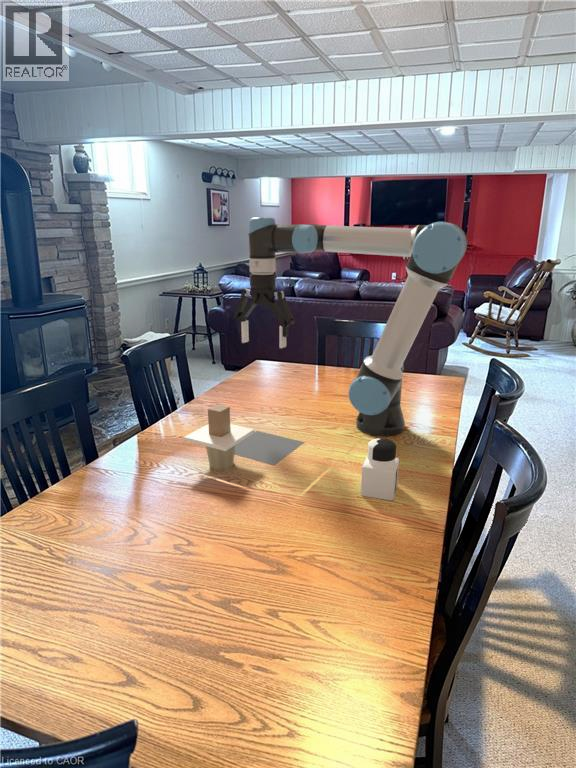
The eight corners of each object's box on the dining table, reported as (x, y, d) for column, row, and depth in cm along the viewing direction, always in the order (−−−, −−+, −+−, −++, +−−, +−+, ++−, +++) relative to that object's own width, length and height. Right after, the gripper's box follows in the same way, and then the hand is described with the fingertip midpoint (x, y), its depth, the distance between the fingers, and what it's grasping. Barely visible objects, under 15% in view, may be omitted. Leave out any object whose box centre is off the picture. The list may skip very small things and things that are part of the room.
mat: (304, 444, 146) (304, 442, 146) (274, 467, 132) (274, 465, 132) (256, 432, 155) (256, 430, 154) (223, 453, 141) (223, 451, 140)
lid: (254, 432, 133) (253, 404, 130) (225, 451, 122) (224, 420, 120) (215, 423, 139) (213, 396, 137) (184, 440, 128) (182, 411, 126)
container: (397, 486, 123) (401, 437, 119) (393, 501, 116) (397, 450, 112) (366, 480, 125) (369, 433, 121) (360, 496, 118) (362, 446, 115)
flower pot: (233, 476, 128) (232, 445, 125) (198, 472, 130) (196, 442, 127) (243, 460, 137) (242, 430, 134) (210, 456, 138) (209, 428, 136)
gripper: (220, 272, 148) (223, 342, 154) (293, 276, 136) (293, 352, 142) (235, 270, 154) (237, 337, 160) (306, 274, 142) (305, 346, 148)
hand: (263, 344), depth 151 cm, fingers open, 13 cm apart
